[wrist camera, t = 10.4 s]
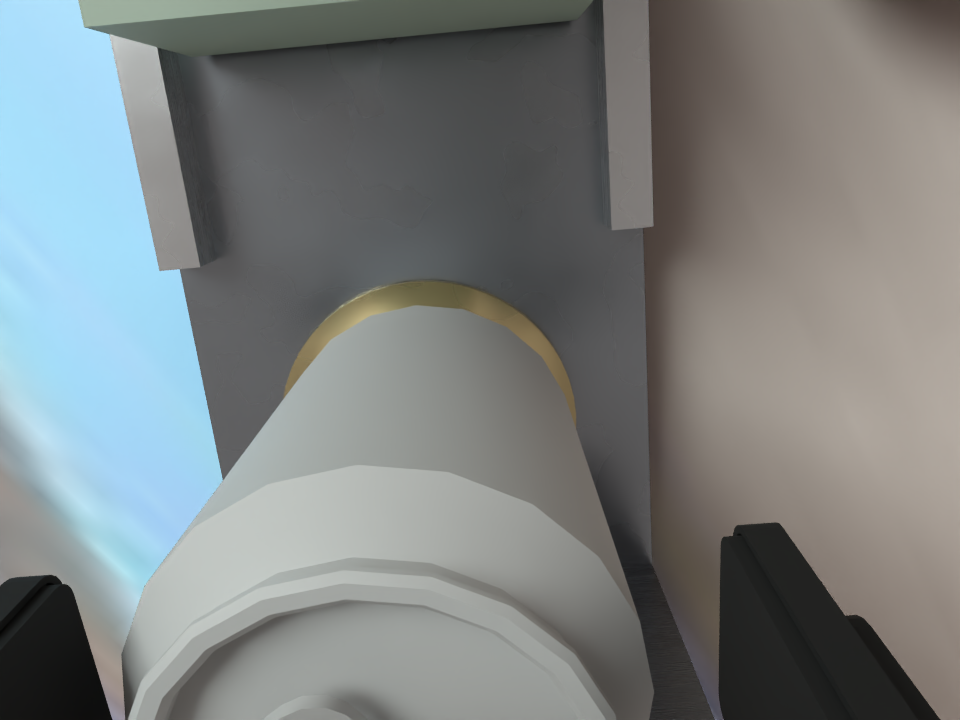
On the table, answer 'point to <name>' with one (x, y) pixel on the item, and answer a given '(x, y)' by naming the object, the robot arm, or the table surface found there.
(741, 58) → the table surface
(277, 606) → the can
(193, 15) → the grey-green handled block
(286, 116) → the base
